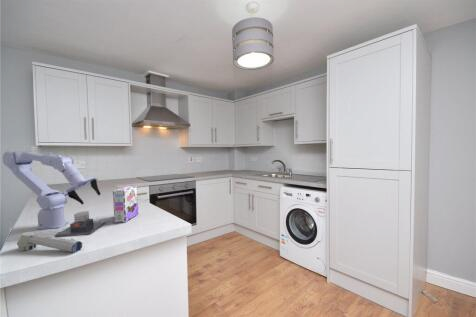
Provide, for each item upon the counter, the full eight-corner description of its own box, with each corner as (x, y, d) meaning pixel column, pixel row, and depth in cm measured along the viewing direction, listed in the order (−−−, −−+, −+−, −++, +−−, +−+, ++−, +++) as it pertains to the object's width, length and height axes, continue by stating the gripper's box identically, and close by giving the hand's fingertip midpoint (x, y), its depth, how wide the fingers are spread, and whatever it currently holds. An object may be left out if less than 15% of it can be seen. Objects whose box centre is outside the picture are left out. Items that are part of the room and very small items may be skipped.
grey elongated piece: (71, 244, 75) (13, 232, 79) (70, 262, 75) (12, 249, 79) (84, 238, 80) (29, 227, 84) (83, 255, 81) (28, 243, 85)
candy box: (125, 222, 108) (123, 190, 107) (114, 223, 108) (112, 190, 107) (138, 214, 121) (137, 185, 121) (128, 214, 122) (127, 185, 121)
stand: (55, 237, 92) (54, 227, 92) (75, 225, 106) (74, 217, 105) (90, 234, 94) (90, 225, 94) (105, 223, 108) (105, 215, 107)
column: (74, 229, 97) (73, 214, 97) (80, 226, 101) (79, 211, 101) (84, 228, 98) (83, 213, 98) (89, 225, 102) (88, 211, 102)
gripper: (56, 181, 95) (74, 204, 95) (90, 166, 106) (107, 187, 105) (57, 187, 100) (74, 209, 100) (89, 172, 111) (106, 193, 110)
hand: (91, 198), depth 103 cm, fingers open, 7 cm apart
